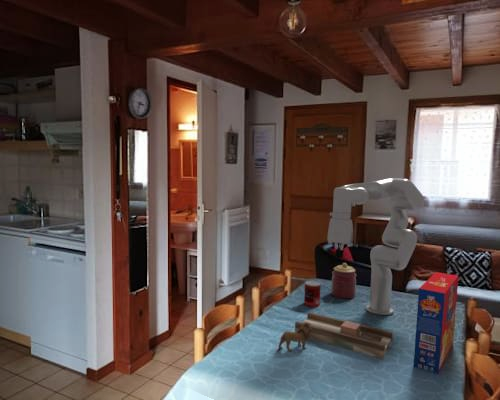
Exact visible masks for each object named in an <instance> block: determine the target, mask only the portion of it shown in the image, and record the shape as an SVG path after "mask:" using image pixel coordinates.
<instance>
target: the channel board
mask: <svg viewBox="0 0 500 400" xmlns="http://www.w3.org/2000/svg"><path fill="white" fill-rule="evenodd" d="M345 321H346V320H343V319H338V318H335V317H331V316H326V315H322V314H318V313H315V312H310V311H309V312H307V317H306V318H304V319H303V320H302V322H301V321H295V322H294V332H297V331H299V330H300V328H301V326H302V324H303V323H305V322H307V323H310V325H311V328H312V330H311V333H310V337H309V338H308V340H314V341H317V342H319V343H324V344H328V345H331V346H335V347H339V348H342V349H346V350H350V351H354V352H356V353H360V354H363V355H367V356H371V357H374V358H377V359H381V360H384V358H385V357H386V355H387V353H388V352H389V350H390V349H391V347H392V345H393V332H392V331H389V330H386V329H385V330H384V329H380V328H376V327H371V326H368V325H366V324H365V325H364V324H361V326H360V335H359V336H358V337H356V336H352V335H348V334H344V333H340V330H341V325H342V324H343V323H344V322H345Z"/></svg>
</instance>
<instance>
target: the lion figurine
mask: <svg viewBox="0 0 500 400" xmlns="http://www.w3.org/2000/svg"><path fill="white" fill-rule="evenodd" d="M311 330H312V328H311V325H310V323H307V322H305V323H303V324H302V326H301V328H300V330H299V331H297V332H295V331H285V332H284V333H283V334H282V335H281V337H280V341H279V343H278V349H277V352H279V351H280V350H282V349H283V346H282V345H283V344H284V343H286V347H285V348H286V349H287V351H288V352H292V351H293V350H292V349H291V348H290V345H291V342H294V343H297V346H298V347H302V350H303V349H304V350H306V349H307V348H306V340H309V337H310V333H311Z"/></svg>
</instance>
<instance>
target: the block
mask: <svg viewBox="0 0 500 400" xmlns="http://www.w3.org/2000/svg"><path fill="white" fill-rule="evenodd" d="M344 321H345V322H344V323H343V324H342V325H341V330H340V333H344V334H348V335H352V336H356V337H358V336H359V335H360V326H361V325H362V324H361V323H356V322H351V321H349V320H348V321H347V320H344Z"/></svg>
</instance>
